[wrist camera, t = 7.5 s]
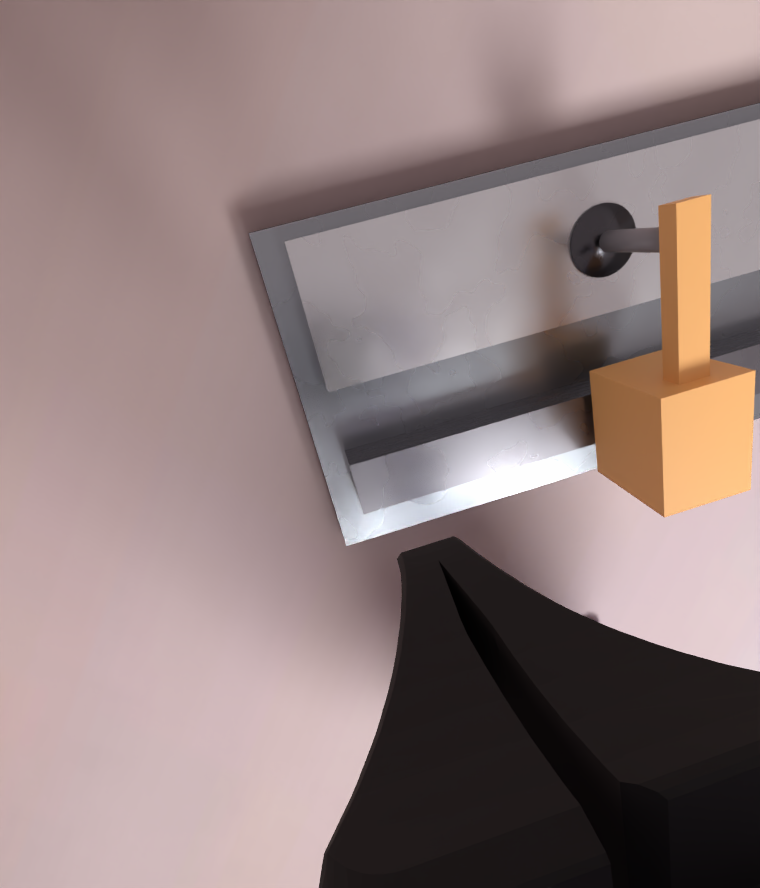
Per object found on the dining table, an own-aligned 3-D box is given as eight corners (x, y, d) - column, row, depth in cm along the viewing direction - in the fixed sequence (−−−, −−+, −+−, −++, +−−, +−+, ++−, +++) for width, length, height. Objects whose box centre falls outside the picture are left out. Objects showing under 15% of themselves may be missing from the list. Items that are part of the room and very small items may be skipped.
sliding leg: (656, 441, 21) (750, 489, 17) (586, 463, 20) (664, 517, 16) (648, 198, 17) (763, 182, 13) (564, 220, 17) (655, 211, 13)
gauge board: (943, 349, 24) (1062, 367, 21) (343, 533, 22) (356, 591, 18) (999, 42, 20) (1165, -5, 16) (250, 234, 17) (242, 229, 14)
